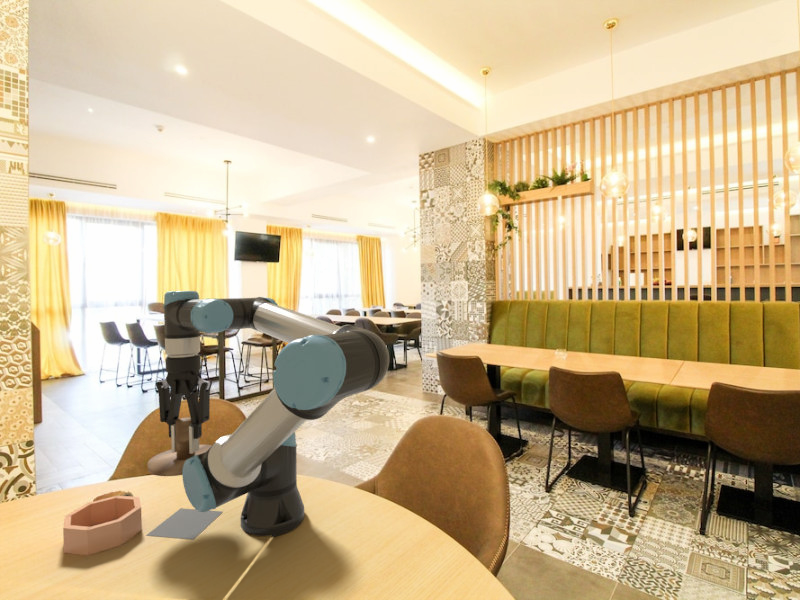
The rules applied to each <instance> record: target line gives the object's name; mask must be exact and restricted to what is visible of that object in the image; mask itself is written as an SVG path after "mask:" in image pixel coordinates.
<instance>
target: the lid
mask: <svg viewBox="0 0 800 600" xmlns="http://www.w3.org/2000/svg"><path fill="white" fill-rule="evenodd" d="M191 424H192V422H191V417H190V416H188V417H181V418H179V419H178V420H176V452H175V453H172V448H171V449H168V450H165V451H162V452H160V453H157V454H156V455H154V456H152V457H151V458H150V459H149V460H148V461H147V472H148V473H149V474H151V475H153V476H156V477H177V476H182V470H183V465H184V463H185V461H186V460H187V459H188V458H191V457H193V456H194V455H199V454H202V453H204V452H206V451H207V450H208V449H209V448H210V447H211V446H212V445H213V444H199V450H198V451H196V452H194V453H193V454H190V453H189V426H190V425H191Z"/></svg>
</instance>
